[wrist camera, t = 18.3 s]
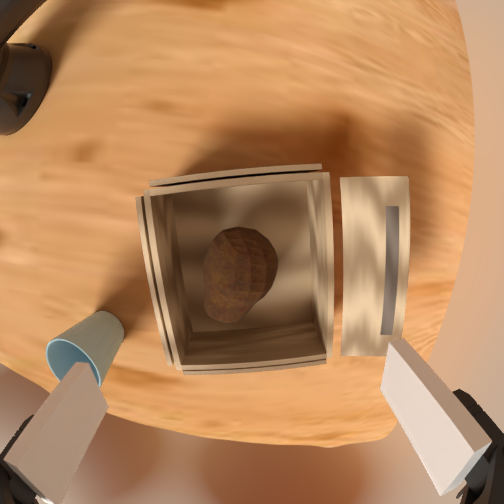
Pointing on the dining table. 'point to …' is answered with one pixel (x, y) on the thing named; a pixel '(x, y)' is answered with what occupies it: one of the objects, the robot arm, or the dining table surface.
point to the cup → (87, 345)
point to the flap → (374, 262)
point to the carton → (286, 281)
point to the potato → (237, 273)
